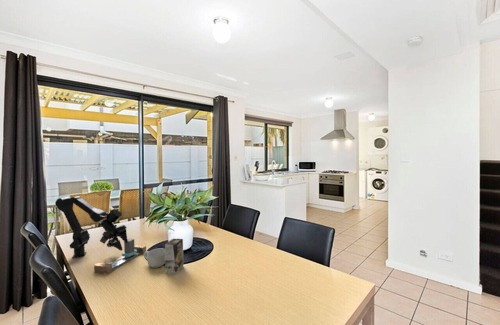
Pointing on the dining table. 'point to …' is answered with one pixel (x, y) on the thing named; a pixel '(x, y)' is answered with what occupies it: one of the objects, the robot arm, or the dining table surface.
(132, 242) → the grey teal block
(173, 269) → the coffee box
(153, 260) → the teacup
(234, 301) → the dining table surface
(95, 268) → the rail
